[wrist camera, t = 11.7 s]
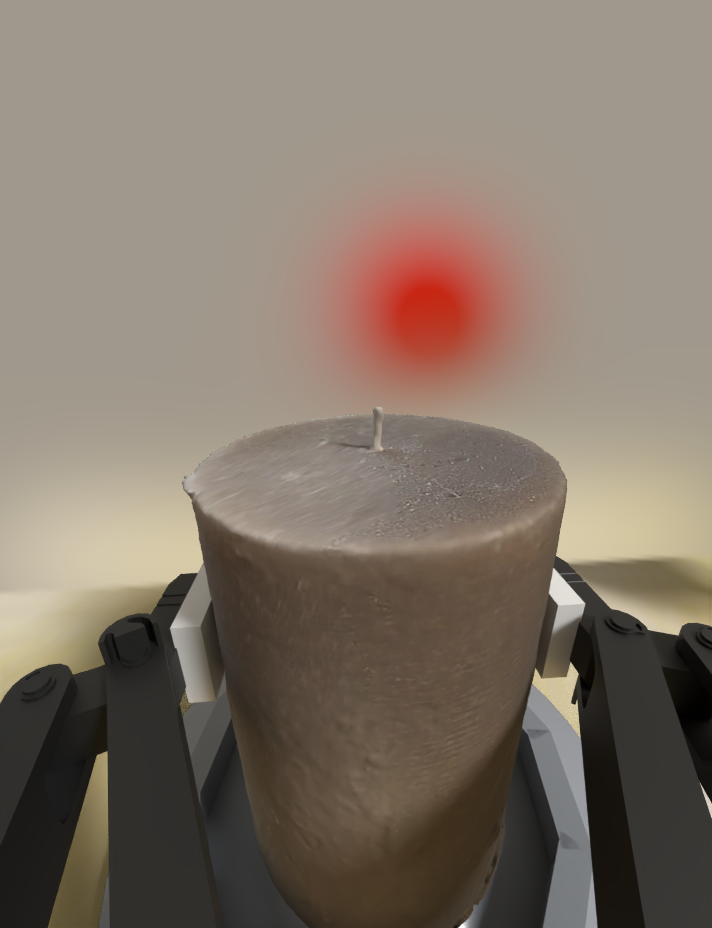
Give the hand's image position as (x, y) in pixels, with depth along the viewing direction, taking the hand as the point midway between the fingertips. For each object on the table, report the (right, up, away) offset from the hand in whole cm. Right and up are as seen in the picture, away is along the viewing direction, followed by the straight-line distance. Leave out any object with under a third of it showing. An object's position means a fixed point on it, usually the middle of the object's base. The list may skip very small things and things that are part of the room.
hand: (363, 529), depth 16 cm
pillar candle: (0, -10, -1) cm, 10 cm away
